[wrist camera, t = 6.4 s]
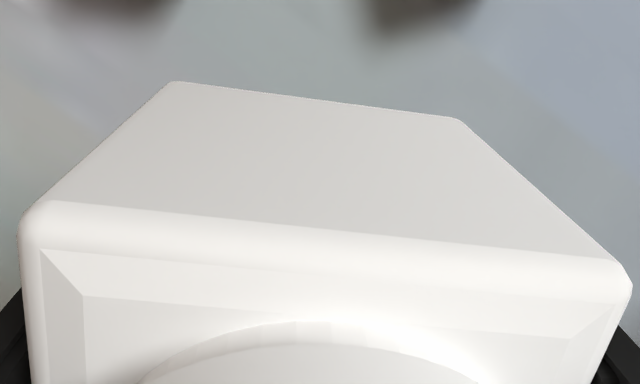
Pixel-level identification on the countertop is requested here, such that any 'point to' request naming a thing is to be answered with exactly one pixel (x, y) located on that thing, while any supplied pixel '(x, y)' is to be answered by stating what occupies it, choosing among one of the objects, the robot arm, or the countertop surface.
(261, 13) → the countertop surface
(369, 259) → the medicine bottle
